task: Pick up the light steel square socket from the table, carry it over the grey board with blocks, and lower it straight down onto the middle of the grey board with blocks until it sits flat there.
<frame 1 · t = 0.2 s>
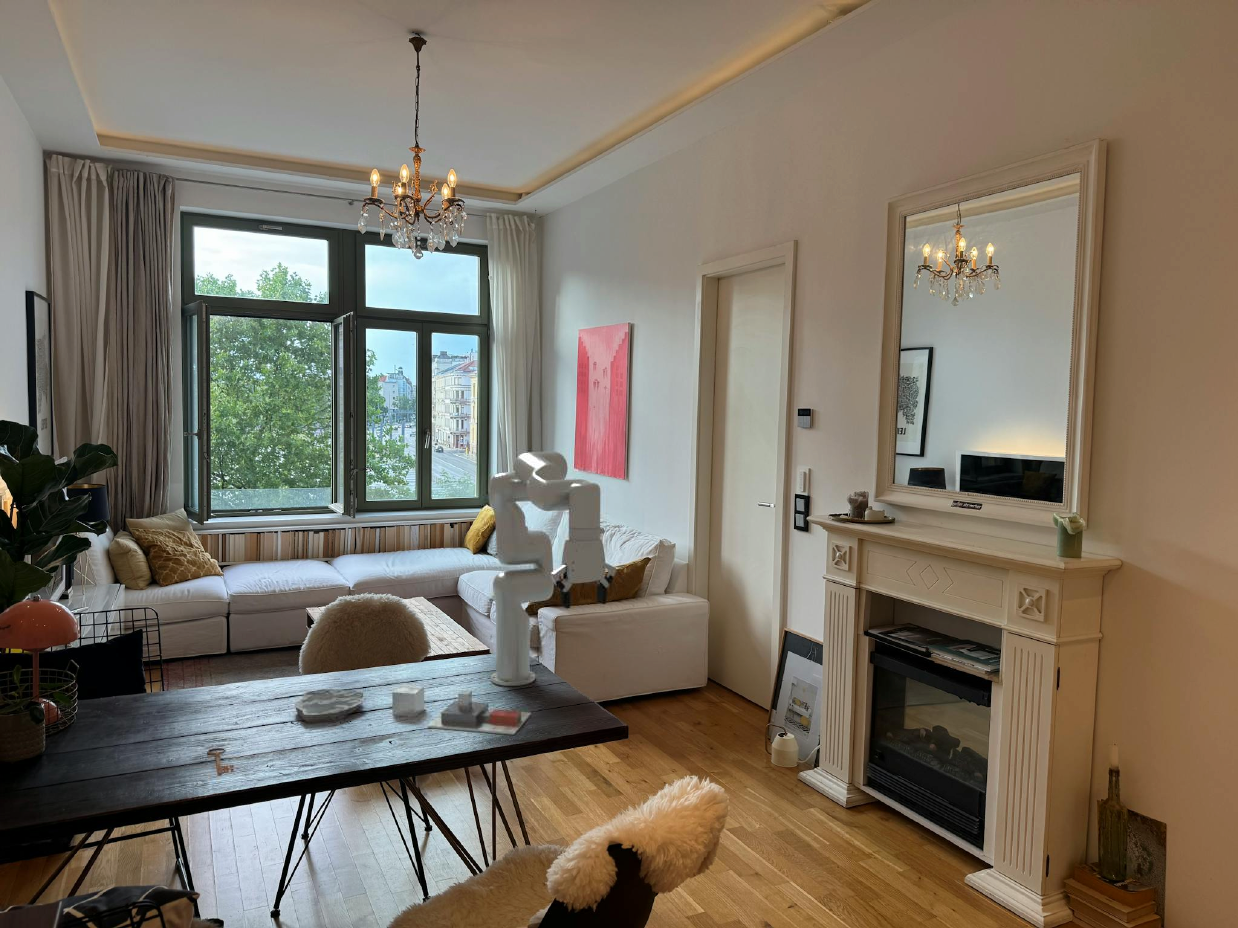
hand: (583, 605, 209), 31 cm above the table, tool pointing down, fingers open, 9 cm apart
key: (222, 763, 192), on the table
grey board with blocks: (465, 719, 218), on the table
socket: (408, 712, 223), on the table
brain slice: (330, 712, 224), on the table
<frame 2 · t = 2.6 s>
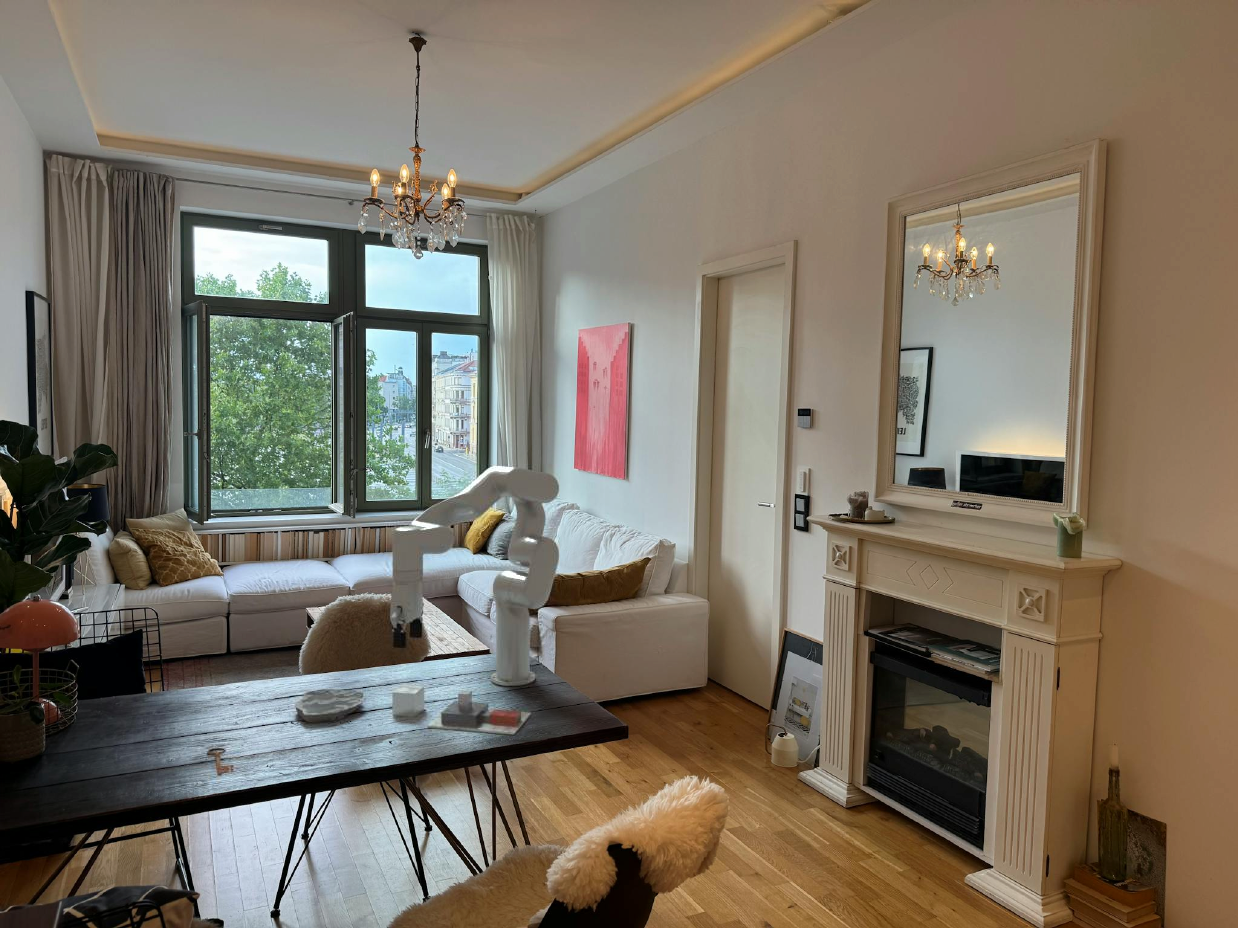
hand: (408, 642, 221), 18 cm above the table, tool pointing down, fingers open, 9 cm apart
nothing on the table moved.
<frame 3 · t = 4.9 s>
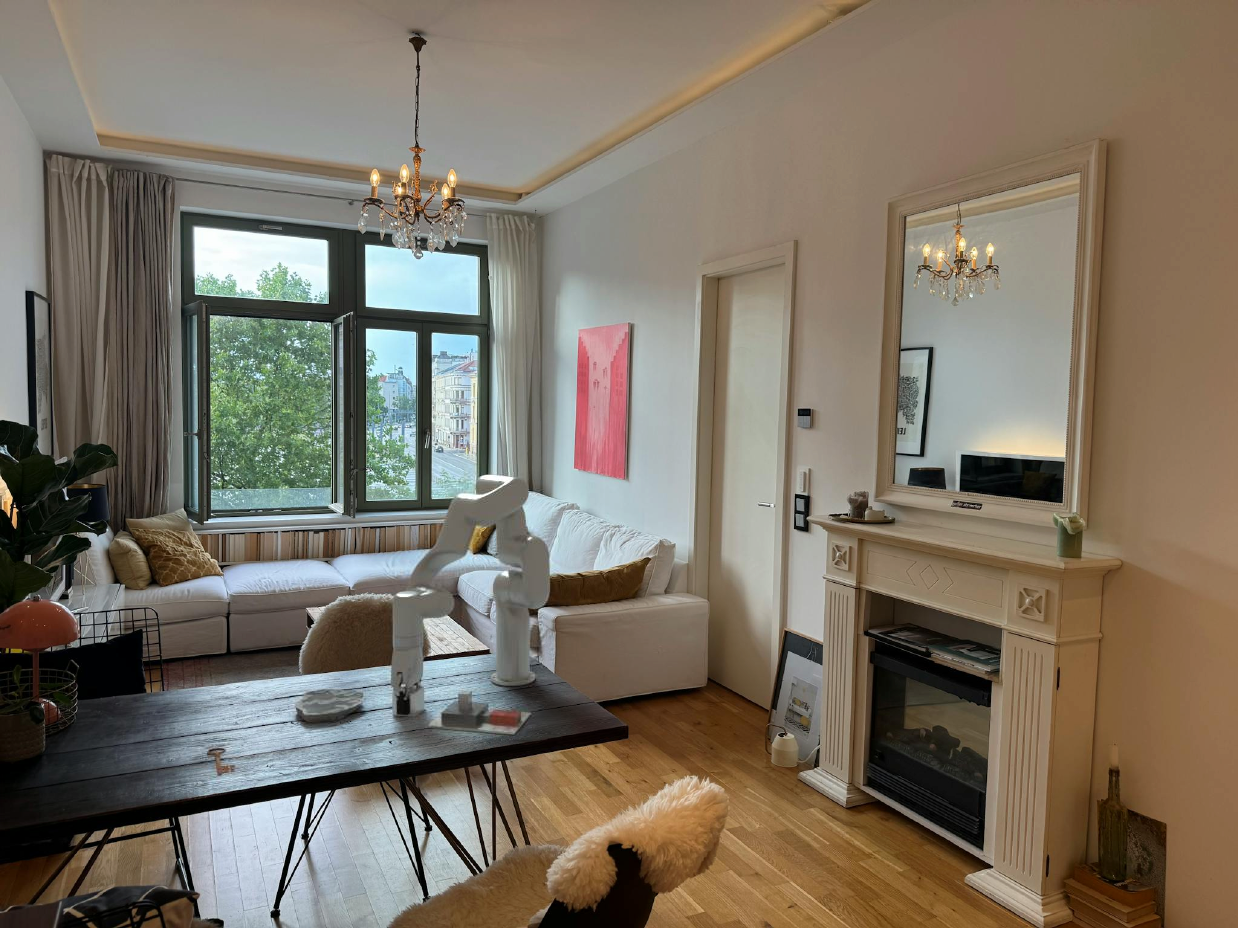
hand: (408, 708, 223), 1 cm above the table, tool pointing down, fingers closed on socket, 6 cm apart
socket: (408, 712, 223), on the table, touching gripper
everything else where it was.
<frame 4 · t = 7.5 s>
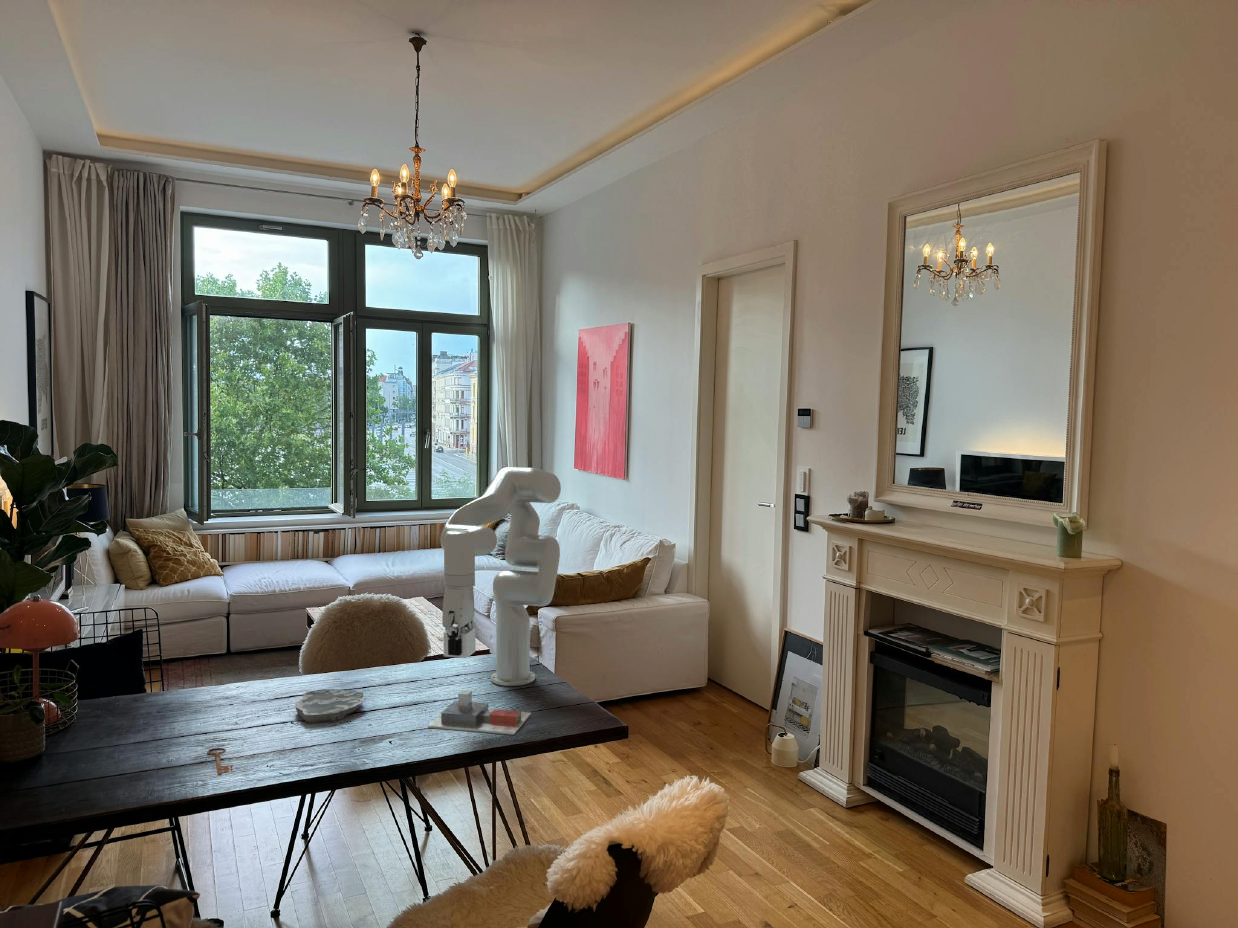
hand: (459, 650, 217), 17 cm above the table, tool pointing down, fingers closed on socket, 6 cm apart
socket: (459, 653, 217), point 17 cm above the table, touching gripper
everything else where it was.
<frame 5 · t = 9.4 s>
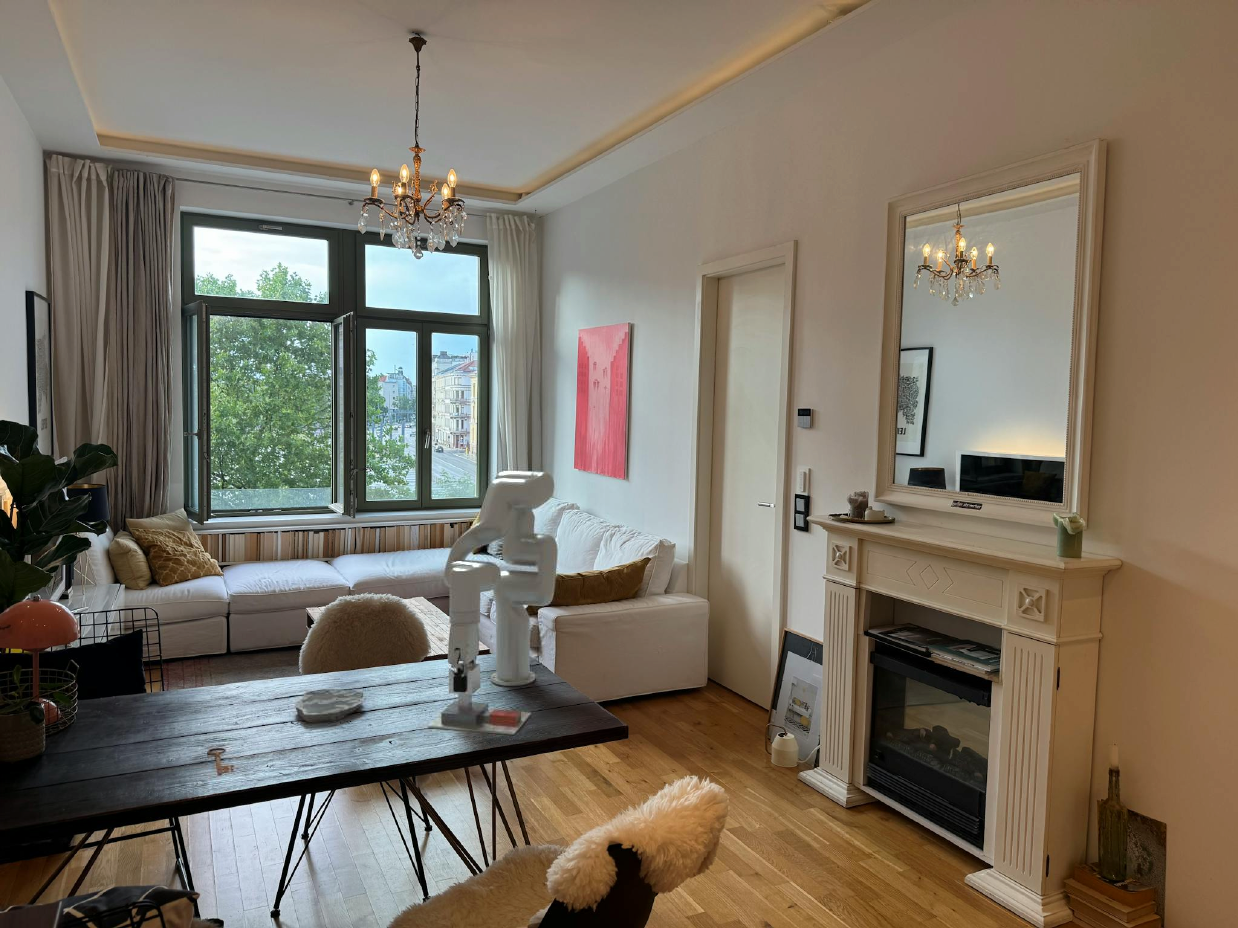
hand: (464, 686, 217), 8 cm above the table, tool pointing down, fingers closed on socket, 6 cm apart
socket: (464, 690, 217), point 8 cm above the table, touching gripper
everything else where it was.
when the fingers open (5 cm above the table, at t = 10.6 s): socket stays where it is, resting on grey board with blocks.
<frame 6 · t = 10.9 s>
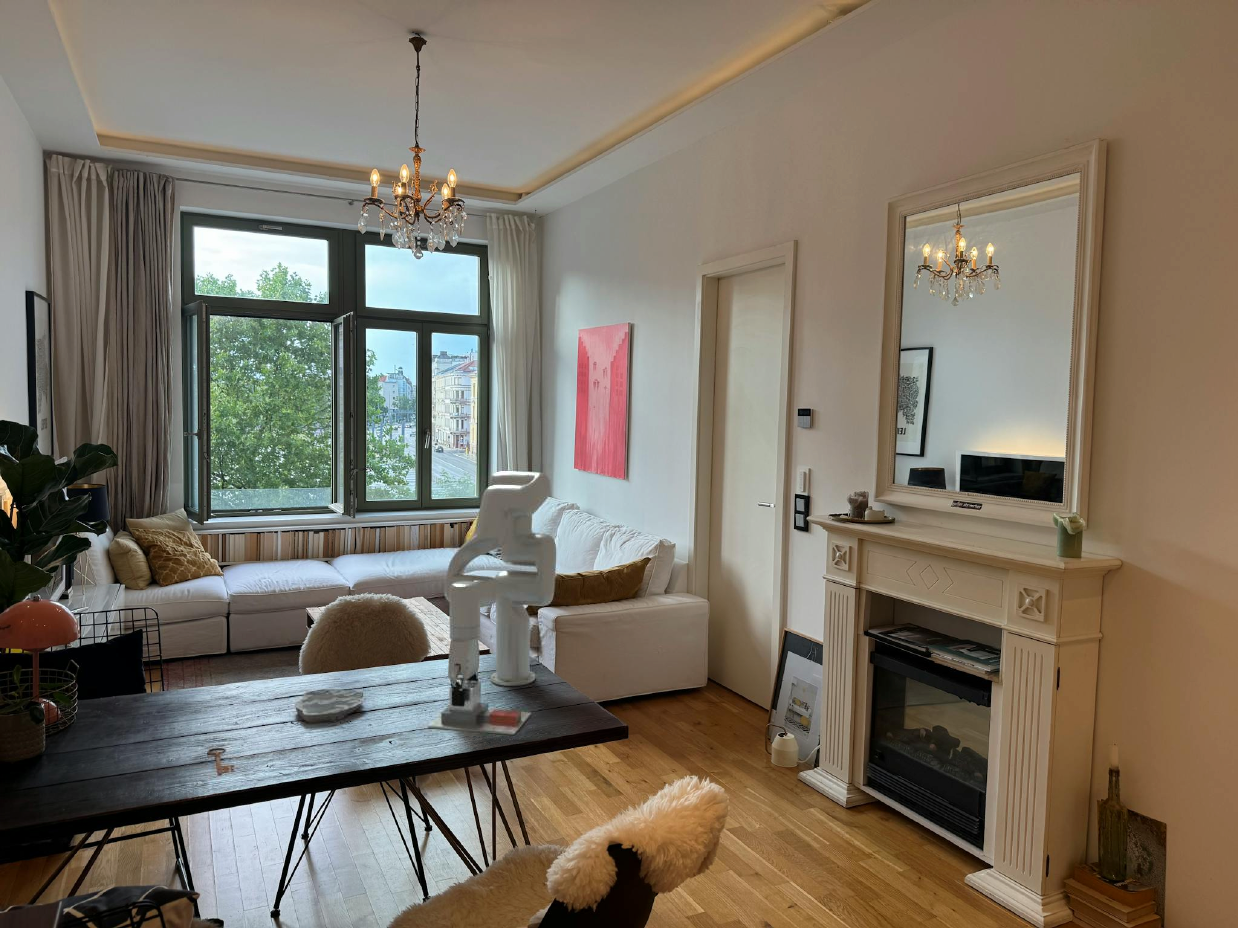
hand: (465, 699, 218), 5 cm above the table, tool pointing down, fingers open, 9 cm apart
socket: (465, 707, 218), point 3 cm above the table, touching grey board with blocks
everything else where it was.
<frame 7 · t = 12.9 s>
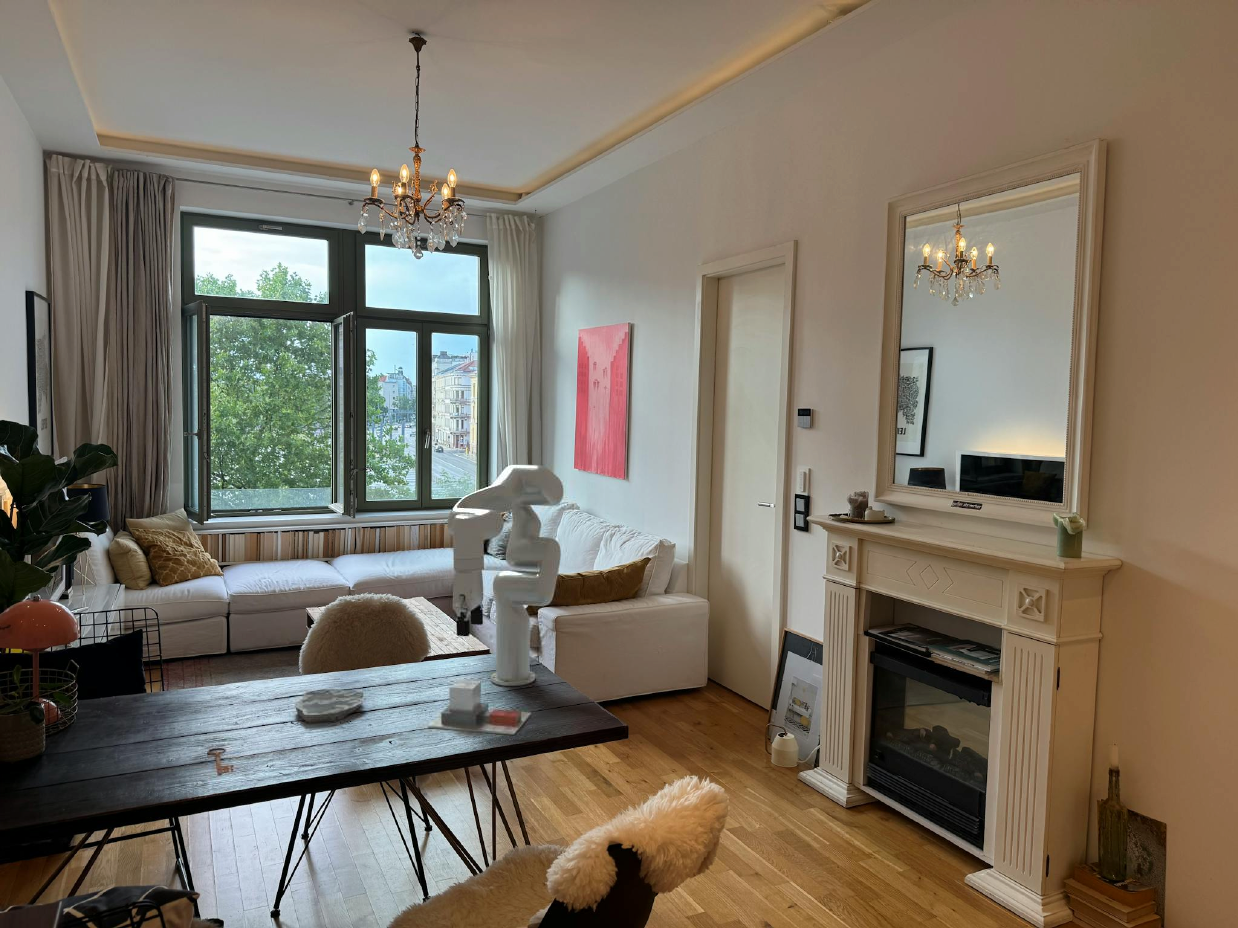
hand: (470, 629, 220), 22 cm above the table, tool pointing down, fingers open, 9 cm apart
nothing on the table moved.
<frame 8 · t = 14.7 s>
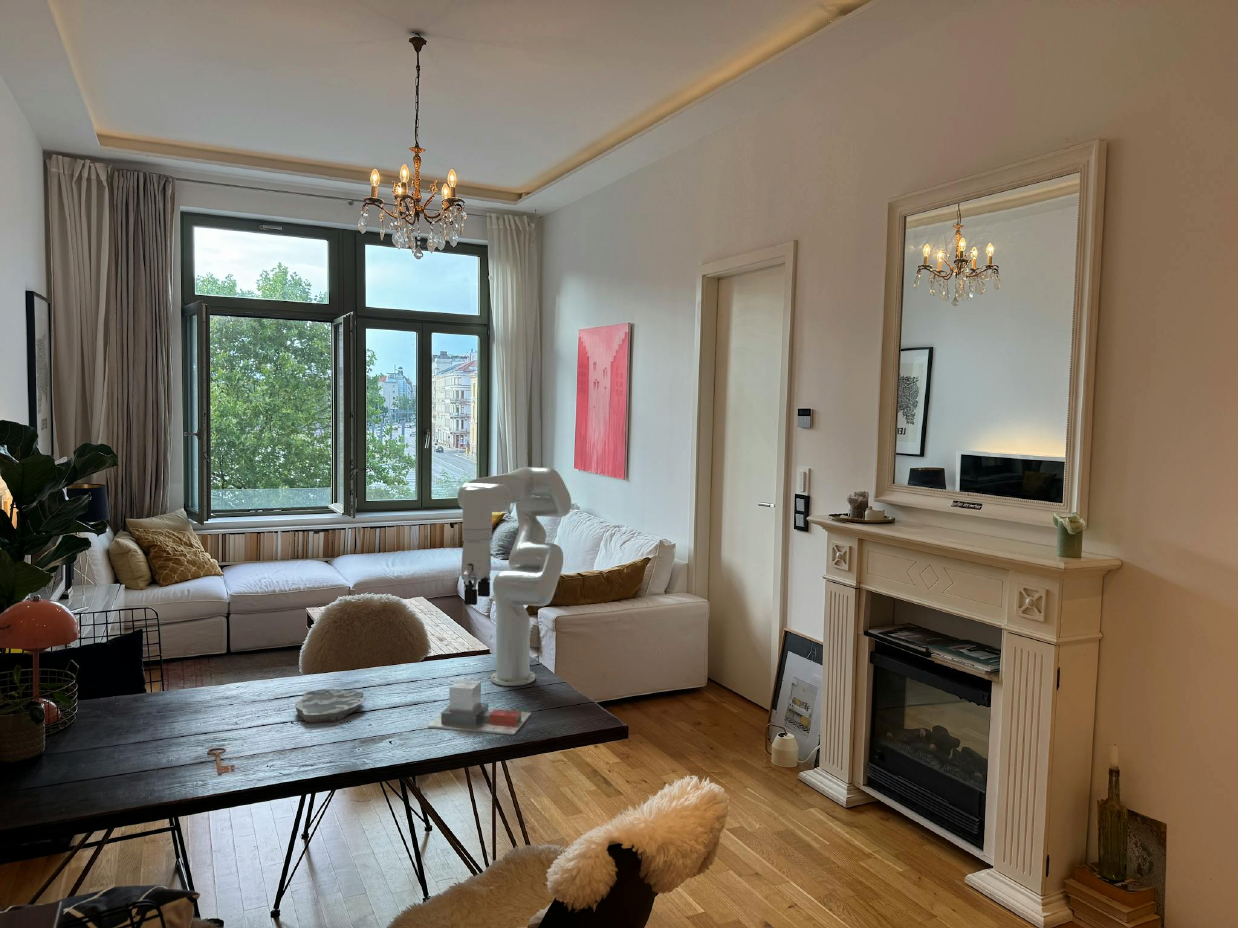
hand: (477, 600, 225), 28 cm above the table, tool pointing down, fingers open, 9 cm apart
nothing on the table moved.
at the end: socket 0.1 cm off-centre on the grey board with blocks, point 3.0 cm above the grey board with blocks's base; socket tilted 0°; the gripper is holding nothing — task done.
